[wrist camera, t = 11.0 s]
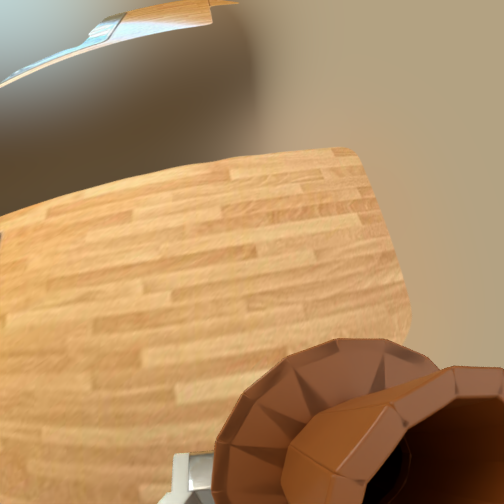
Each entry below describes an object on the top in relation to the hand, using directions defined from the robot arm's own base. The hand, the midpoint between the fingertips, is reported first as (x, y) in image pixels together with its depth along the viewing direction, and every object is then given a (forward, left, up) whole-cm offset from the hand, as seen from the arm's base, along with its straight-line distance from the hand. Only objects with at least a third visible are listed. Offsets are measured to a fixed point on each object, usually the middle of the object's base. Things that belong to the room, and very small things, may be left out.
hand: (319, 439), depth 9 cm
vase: (-1, 0, -9) cm, 9 cm away
